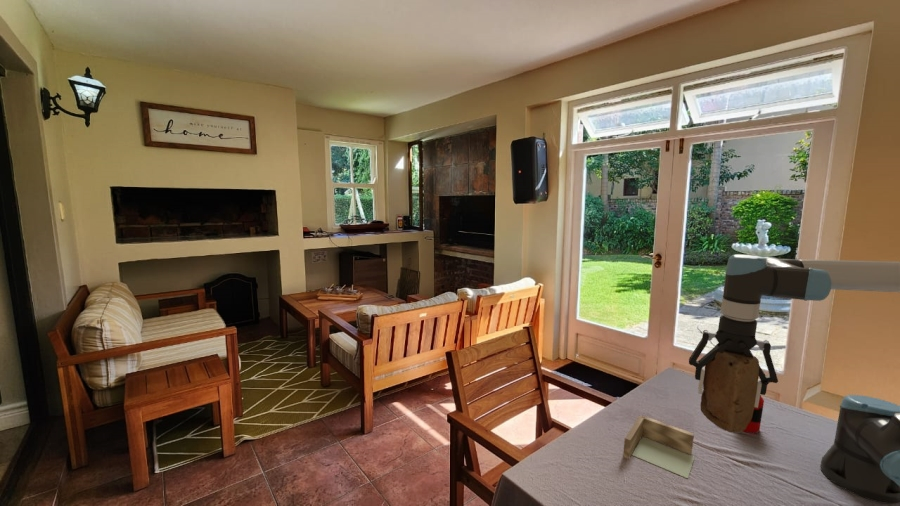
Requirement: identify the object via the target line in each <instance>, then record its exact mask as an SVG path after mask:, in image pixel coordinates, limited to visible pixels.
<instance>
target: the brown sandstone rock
mask: <svg viewBox="0 0 900 506" xmlns="http://www.w3.org/2000/svg"><path fill="white" fill-rule="evenodd" d="M759 366H760V361H759V359H758V358H757V357H756V356H755V355H753V357H746V355H745V354H737V353H734V352H726V351H725V350H724V351H723V352H721V353H719V352H717V354H716V356H715V358H713V359H712V360H711V361H710V362H709V363H708V364H706V365H705V366H704V367H705V374H704V381H703V389H702V394H701V396H700V397H701V398H700V411H701V413H702V414H703V415H704V416H705V417H706V419H707V420H709V421H710V422H711V423H712V424H714V426H716V427H717V428H720V430H722V431H726V432H728V433H734V434H735V433H742V432H744V431H743V430H745V429H746V427H747V425H748V423H749V422H750V421H751V419H752V415H753V411H754V405H755V398H756V393H757V385H758V379H759Z"/></svg>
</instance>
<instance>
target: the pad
mask: <svg viewBox="0 0 900 506" xmlns="http://www.w3.org/2000/svg"><path fill="white" fill-rule="evenodd" d="M631 456H633V457H635V458H638V459H640V460H641V461H644V462H647V463H649V464H652V465H653V466H656V467H659V468H661V469H663V470H666V471H668V472H670V473H673V474H676V475H678V476H681V477H682V478H685V479H688V478H689V476H690V474H691V473H690V472H691V469H692V466H693V463H694V460H695V456H693V455H692V454H691V455H690V454H688V453H685V452H683V451H680V450H677V449H675V448H672V447H670V446H667V445H664V444H662V443H659V442H657V441H654V440H652V439H649V438H646V437H644V436H642V437H641V438H640V440H639V442H638V444H637V445H636V447H635V449H634V451H633V452H632V454H631Z"/></svg>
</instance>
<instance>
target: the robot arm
mask: <svg viewBox="0 0 900 506" xmlns="http://www.w3.org/2000/svg"><path fill="white" fill-rule="evenodd" d="M724 273H725V275H724V286H723V287H724V288H723V292H722V293H723V295H722V299H721V307H720V313H721V314H720V315H719V320H718V328H717V330H716V332H711V331H709V330H707V329H704V330H703V331H702V335H701V336H702V338H700V341H699V342H698V344H697V345H696V347H695V349H694V351H692V353H691V355H690V357H689V358H688V365H690V366H693V367H695V373H694V378H695V380H697V381H699V382H698V387H697V388H698V390H697V391H698V394H700V395H702V392H703V390H704V389H703V381H704V374H705V365H706V364H708V363H709V362H710V361H711V360H712V359H713V358H715V356H716V354H717V352H719V353H721V352H723V351H724V350H725V351H726V352H734V353H737V354H745V355H746V357H753V356H754V354H753V353H752V351H751V350H752V349H753V348H754V347H756V346H758V348H759V350H760V351H761V352H762V354H763V357H764V361H765V365H766V368H767V372H768V374H769V375H768V374H767V375H766V374H765V372H764V370H763V369H762V366H760V365H759V376H758V385H757V393H756V398H755V405H754V407H757V408H758V405H759V398H760V395H761V396H762V395H763V396H765V395H766V394H767V388H768V384H770V383H773V384H777V383H779V378H778V376H777V371H776V370H775V369H776V368H775V366H774V361H773V359H772V356H771V348H772V345H771V343H770V341H769V340H767V339H765V340H757V339H756V333H757V327H758V326H757V325H758V321H757V320H758V318H759V313H760V305H761V301H762V300H761V299H762V296H764V297H772V298H780V299H782V298H783V299H792V300H801V301H805V302H806V301H819V302H820V301H824V300H825V299H827V298H828V297H829V295H830V294H831V290H834V291H835V290H838V291H839V290H841V291H859V292H860V291H862V292H863V291H864V292H880V293H900V261H894V260H892V261H891V260H890V261H889V260H888V261H887V260H886V261H884V260H883V261H882V260H879V261H878V260H847V259H846V260H843V259H806V258H805V259H795V258H792V259H791V258H778V257H775V256H759V255H752V254H732V255H731V256H729V258H728V260H727V265H726V269H725V272H724ZM713 338H714V339H716V341H717V343H716V345H714V347H713V348H712V349H710V350H708V352H707V353H706V354H705V355H704V356H702V357H701V358H700V359H699V357H700V355H701V354H702V352H703V351H704V349H705V348H706V347H707V344H708V342H710V341H712V340H713ZM698 359H699V360H698ZM833 441H834V442H833V443H832V445H831V446H830V448H829V449H828V450H827V451H826V453H824V455H823V456H822V457H821V461H820V466H819V467H820V471H821V472H822V473H823V475H824V476H825V477H827V479H829V480H830V481H831V482H832V483H834V484H836V485H837V486H839V487H841V488H843V489H845V490H846V491H848V492H850V493H852V494H855V495H857V496H859V497H863V498H865V499H867V500H872V501H875V502H879V503H885V504H897V503H898V504H899V503H900V405H899V404H897V403H895V402H894V403H893V402H891V401H887V400H885V399H880V398H877V397H876V398H875V397H872V396H866V395H859V394H848V395H845V396H843V397H842V400H841V404H840V405H839V413H838V419H837V423H836V431H835V436H834V440H833Z"/></svg>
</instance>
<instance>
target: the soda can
mask: <svg viewBox="0 0 900 506" xmlns="http://www.w3.org/2000/svg"><path fill="white" fill-rule="evenodd" d="M764 404H765V399H764V397H762V394H760V398H759V405H758V408H757V407H754V411H753V415H752V419H751V421H750V422H749V423H748V425H747V427H746V429H745V430H743V432H744V433H748V434H756V433H757V434H758V433H759V432H760V430H761V422H762V417H763V411H764V410H763V409H764Z"/></svg>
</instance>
